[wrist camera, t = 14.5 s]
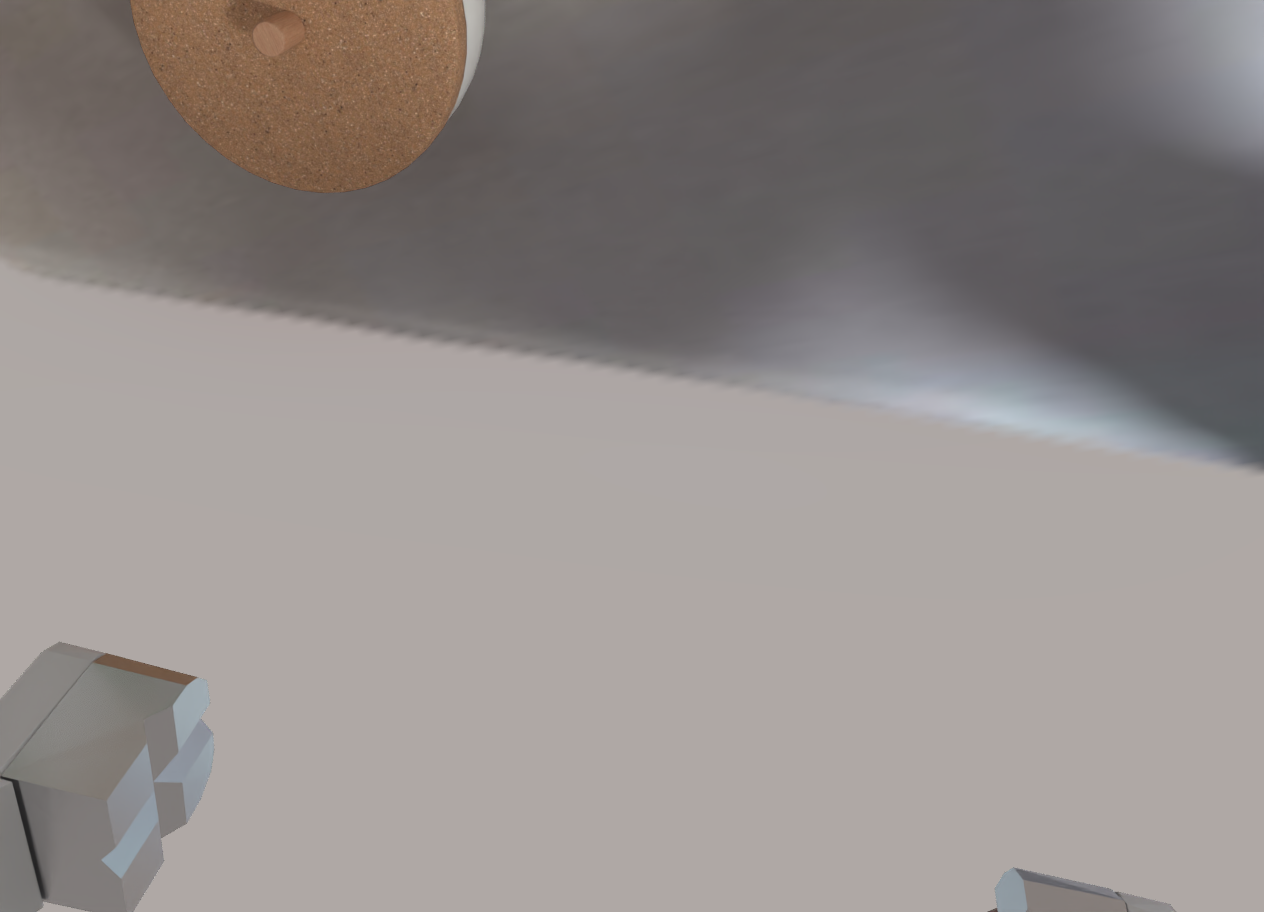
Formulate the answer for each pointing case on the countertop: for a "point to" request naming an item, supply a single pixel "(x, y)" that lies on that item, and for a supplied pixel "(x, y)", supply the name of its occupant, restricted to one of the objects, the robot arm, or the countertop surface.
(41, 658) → the robot arm
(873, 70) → the countertop surface
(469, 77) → the lidded jar
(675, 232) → the countertop surface
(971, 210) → the countertop surface
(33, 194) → the countertop surface
